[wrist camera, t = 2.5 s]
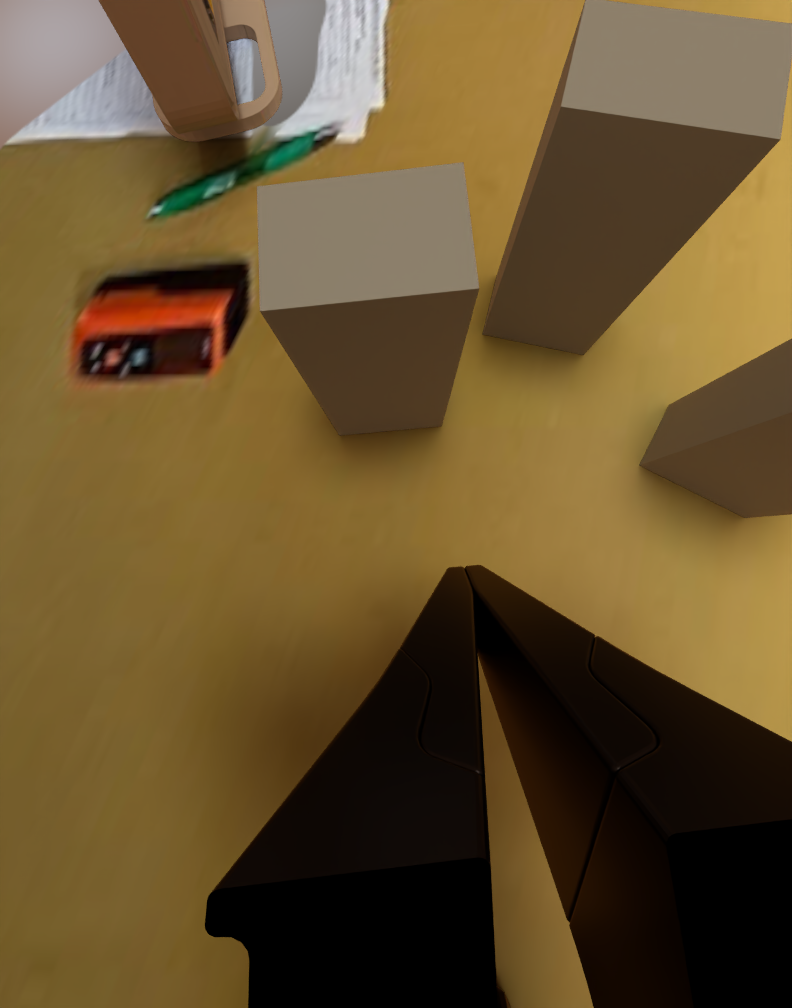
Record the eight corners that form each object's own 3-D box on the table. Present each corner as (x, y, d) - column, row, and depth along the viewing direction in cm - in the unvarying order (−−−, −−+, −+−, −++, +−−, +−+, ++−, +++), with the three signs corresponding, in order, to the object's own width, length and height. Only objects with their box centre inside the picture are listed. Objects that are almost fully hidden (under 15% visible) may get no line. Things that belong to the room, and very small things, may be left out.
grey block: (441, 426, 18) (479, 288, 9) (339, 435, 19) (260, 311, 9) (434, 357, 19) (462, 153, 9) (335, 367, 19) (257, 177, 9)
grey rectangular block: (583, 355, 19) (780, 139, 9) (482, 334, 19) (560, 106, 9) (596, 290, 19) (797, 16, 9) (497, 271, 20) (587, -10, 10)
